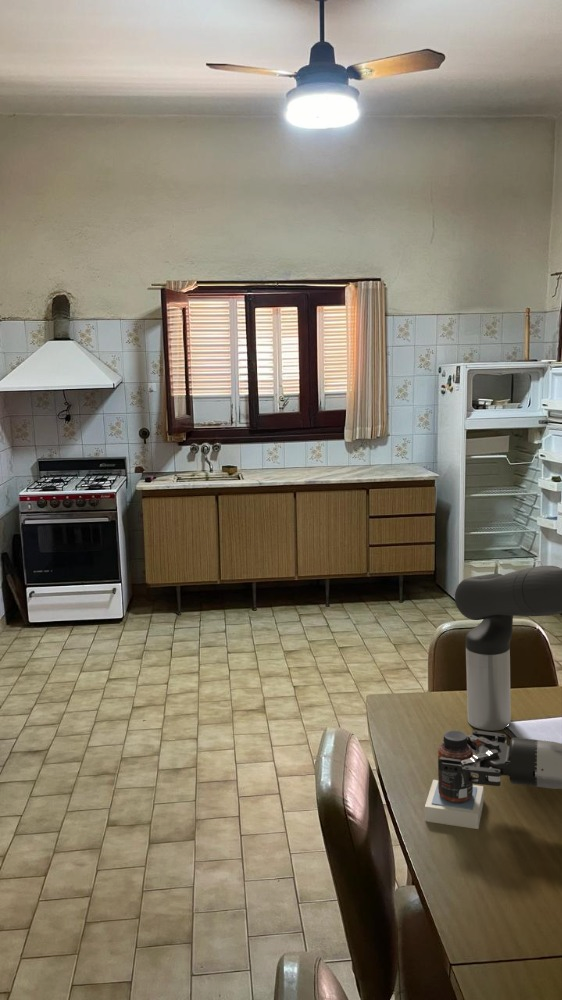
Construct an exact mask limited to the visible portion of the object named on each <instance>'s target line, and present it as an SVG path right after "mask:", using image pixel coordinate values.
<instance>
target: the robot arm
mask: <svg viewBox="0 0 562 1000" xmlns="http://www.w3.org/2000/svg"><path fill="white" fill-rule="evenodd" d="M455 589H456V590H455V591H454V602H455V603H454V604H455V605H456V608H457V610H458V611H459V612H460V614H461V615H462V616H464V617H465V618H466V619H469V620H472V621H481V622H479V624H478V625H477V626H475V627H474V628H472V629H470V630H469V631H468V632H467V633H466V635H465V665H466V666H465V667H466V705H467V706H466V709H467V710H466V712H467V713H466V714H467V722H468V724H469V725H470V726H471V727H473V728H476V729H479V730H472V732H471V733H472V734H468V735H467V744H468V745H469V746H470V747H471V749H472V752H474V753H475V754H473V756H472V758H470V759H466V760H462V761H461V759H453V758H444V757H440V758H439V760H438V759H437V766H438V767H437V770H438V769H439V770H440V771H445V772H453V773H460V774H461V776H463V781H464V782H465V783H472V784H473V785H481V786H493V787H500V786H501V785H502V781H501V780H502V776H508V777H509V781H510V782H511V784H514V785H521V786H530V787H536V788H537V787H538V788H543V789H544V788H546V789H553V790H556V789H557V790H562V742H556V741H550V740H541V739H531V738H524V737H523V738H522V737H511V739H510V743H509V744H508V743H507V734H505V733H500V732H492V731H501V730H505V729H506V728H505V727H506V726H507V725H508V724H510V723H511V721H512V720H511V719H512V718H511V717H512V715H511V713H512V712H511V706H512V704H511V656H510V655H511V654H510V653H511V652H510V651H511V650H510V648H511V647H510V646H511V645H510V644H511V640H512V637H513V627H514V626H513V625H514V622H513V621H514V616H515V617H516V616H517V617H550V616H557V615H561V614H562V568H561V567H558V566H556V565H539V566H533V567H532V566H531V567H528V568H523V569H519V570H515V571H512V572H508V573H505V574H501V573H489V574H483V575H477V576H470V577H467V578H465V579H463V580H461V581H460V583H458V585H457V587H456V588H455ZM511 724H512V723H511ZM511 724H510V725H511ZM504 728H505V729H504ZM490 731H491V732H490ZM469 765H472V766H469ZM472 775H473V777H471V776H472ZM474 776H475V777H474Z"/></svg>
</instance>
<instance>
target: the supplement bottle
mask: <svg viewBox="0 0 562 1000" xmlns="http://www.w3.org/2000/svg"><path fill="white" fill-rule="evenodd" d="M467 737H468V735H467V734H466V733H465V732H463V731H459V730H447V731H446V732H444V734H443V740H442V741H443V742H441V744H440V745H439V747H438V748H437V750H438V751H437V761H438V760H439V758H440V757H444V758H453V759H461V761H462V760H466V759H470V758H472V756H473V755H474V754H473V751H472V749H471V747H470V746H469V745H468V744H467ZM469 766H472V765H469ZM437 772H438V773H437V780H438V789H439V794H440V796H441V797H442V798H444V799H445V800H448V801H450V802H458V803H461V802H465V801H468V800H469V799H470V798H471V797H472V792H473V785H474V784H472V783H465V782H464V781H463V776H461V774H460V773H453V772H445V771H440V770H439V769H438V768H437ZM471 777H474V775H472V776H471Z"/></svg>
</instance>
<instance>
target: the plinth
mask: <svg viewBox="0 0 562 1000" xmlns="http://www.w3.org/2000/svg"><path fill="white" fill-rule="evenodd" d="M484 791H485V789H484V785H479V784H473V792H472V797H471V798H470V799H469V800H468V801H465V802H461V803H458V802H450V801H448V800H445V799H444V798H442V797H441V796H440V794H439V789H438V779H432V783H431V785H430V788H429V792H428V794H427V795H428V796H427V799H426V802H425V805H424V816H425V817H424V820H425V821H424V822H429V823H435V824H441V825H447V826H456V827H460V828H461V827H462V828H468V829H474V830H475V829H476V830H479V827H480V823H481V817H482V813H483V807H484V800H485V795H484Z"/></svg>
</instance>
